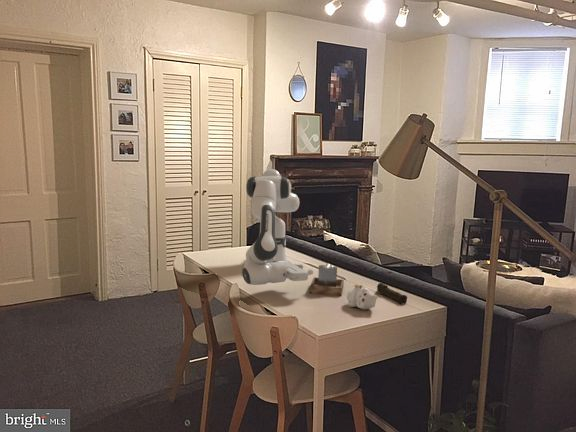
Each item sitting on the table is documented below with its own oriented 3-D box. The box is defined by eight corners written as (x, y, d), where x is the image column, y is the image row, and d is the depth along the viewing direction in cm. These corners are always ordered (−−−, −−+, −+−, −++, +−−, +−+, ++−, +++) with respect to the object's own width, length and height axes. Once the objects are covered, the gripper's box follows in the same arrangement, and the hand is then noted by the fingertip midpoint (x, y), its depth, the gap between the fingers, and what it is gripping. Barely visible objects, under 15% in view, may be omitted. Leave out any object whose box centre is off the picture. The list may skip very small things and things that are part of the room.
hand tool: (407, 304, 202) (408, 293, 202) (399, 305, 201) (400, 294, 200) (382, 291, 220) (383, 281, 219) (375, 292, 218) (375, 282, 217)
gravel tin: (324, 290, 214) (325, 265, 212) (317, 286, 219) (318, 262, 217) (336, 289, 216) (337, 264, 215) (329, 285, 221) (330, 261, 220)
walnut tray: (309, 293, 212) (310, 285, 211) (313, 284, 226) (313, 277, 225) (341, 295, 210) (341, 288, 209) (343, 286, 223) (343, 279, 223)
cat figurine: (346, 281, 199) (374, 285, 187) (358, 288, 204) (386, 293, 192) (338, 302, 196) (366, 308, 185) (350, 309, 201) (378, 315, 189)
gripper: (289, 271, 199) (318, 268, 205) (270, 259, 217) (297, 257, 223) (289, 286, 200) (318, 282, 206) (269, 273, 218) (296, 270, 224)
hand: (307, 269), depth 215 cm, fingers open, 8 cm apart
